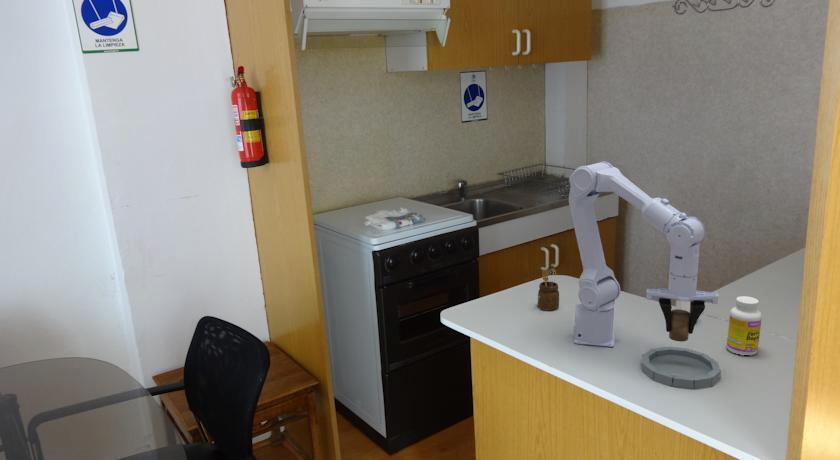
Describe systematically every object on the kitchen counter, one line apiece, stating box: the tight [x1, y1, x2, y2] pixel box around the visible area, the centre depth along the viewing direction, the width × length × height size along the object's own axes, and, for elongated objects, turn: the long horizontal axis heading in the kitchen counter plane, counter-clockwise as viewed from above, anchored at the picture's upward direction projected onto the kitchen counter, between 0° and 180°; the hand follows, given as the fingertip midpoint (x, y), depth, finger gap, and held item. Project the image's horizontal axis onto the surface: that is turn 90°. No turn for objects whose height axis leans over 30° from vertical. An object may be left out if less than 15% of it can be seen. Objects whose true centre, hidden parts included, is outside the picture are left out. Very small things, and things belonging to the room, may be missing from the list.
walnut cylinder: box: [668, 309, 690, 343], centre depth 143 cm, size 4×4×6 cm
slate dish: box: [640, 346, 722, 390], centre depth 143 cm, size 16×16×2 cm
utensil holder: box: [537, 269, 560, 312], centre depth 180 cm, size 6×6×12 cm
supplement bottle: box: [726, 295, 763, 356], centre depth 150 cm, size 7×7×13 cm
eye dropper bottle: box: [674, 301, 690, 313], centre depth 167 cm, size 4×6×12 cm
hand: (679, 331), depth 143 cm, fingers closed on walnut cylinder, 4 cm apart
